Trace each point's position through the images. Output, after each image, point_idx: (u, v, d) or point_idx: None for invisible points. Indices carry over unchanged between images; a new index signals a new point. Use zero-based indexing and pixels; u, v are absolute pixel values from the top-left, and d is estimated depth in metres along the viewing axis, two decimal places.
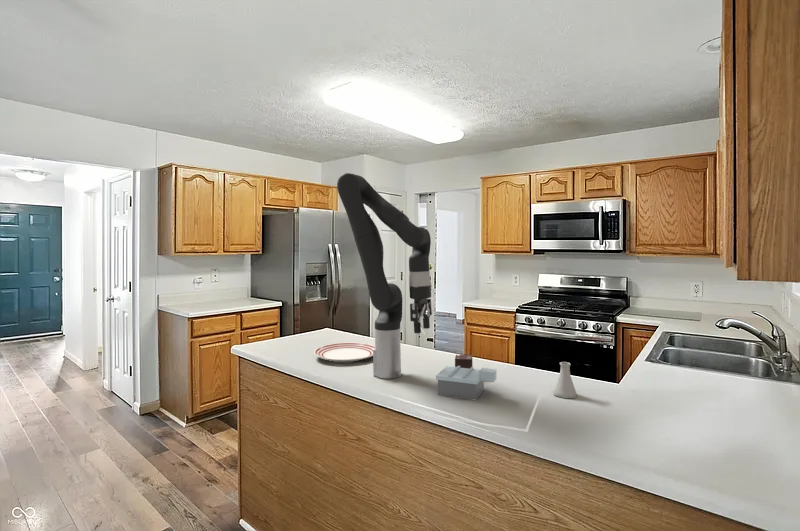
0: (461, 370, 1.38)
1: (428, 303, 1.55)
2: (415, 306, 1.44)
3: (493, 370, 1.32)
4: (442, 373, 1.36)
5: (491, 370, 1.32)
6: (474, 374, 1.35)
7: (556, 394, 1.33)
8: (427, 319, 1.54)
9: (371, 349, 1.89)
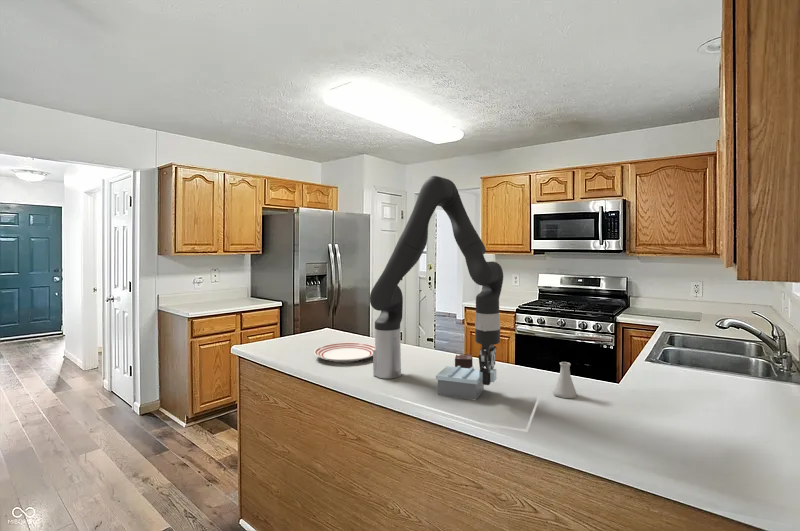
0: (461, 370, 1.38)
1: None
2: (485, 359, 1.26)
3: (493, 370, 1.32)
4: (442, 373, 1.36)
5: (491, 370, 1.32)
6: (474, 374, 1.35)
7: (556, 394, 1.33)
8: None
9: (371, 349, 1.89)
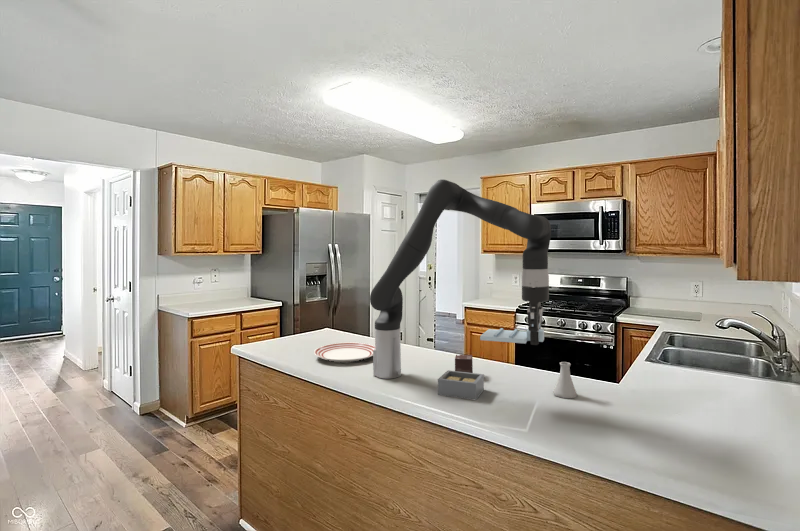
0: (505, 332, 1.32)
1: None
2: (535, 316, 1.20)
3: (541, 330, 1.26)
4: (486, 334, 1.30)
5: (539, 330, 1.26)
6: (520, 334, 1.28)
7: (556, 394, 1.33)
8: None
9: (371, 349, 1.89)
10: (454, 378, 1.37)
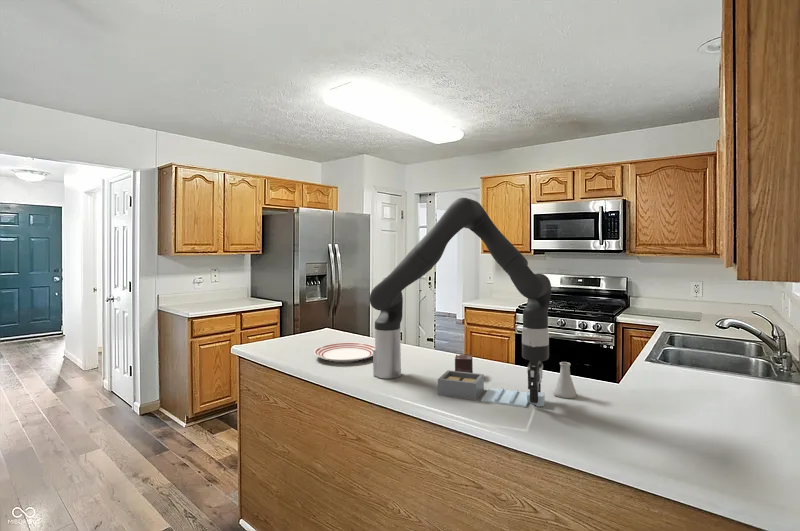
0: (506, 393, 1.33)
1: (540, 364, 1.31)
2: (535, 374, 1.20)
3: (541, 394, 1.27)
4: (487, 396, 1.31)
5: (539, 394, 1.27)
6: (521, 397, 1.29)
7: (556, 394, 1.33)
8: (538, 385, 1.29)
9: (371, 349, 1.89)
10: (454, 378, 1.37)
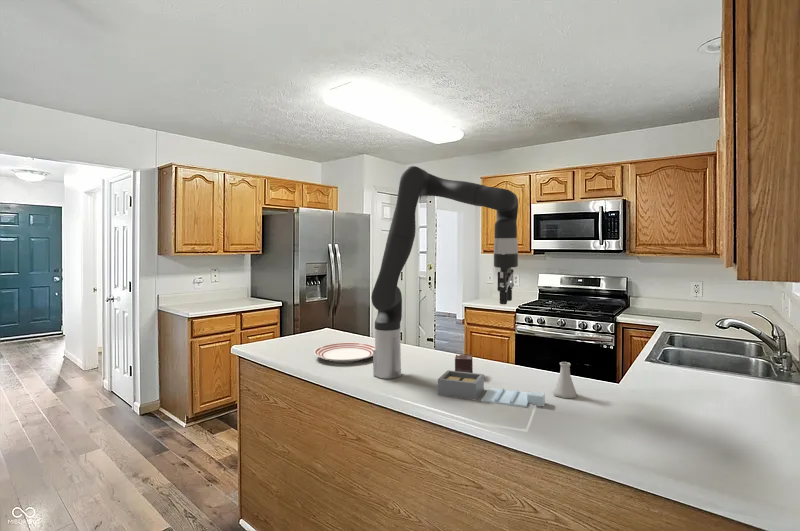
0: (506, 393, 1.33)
1: None
2: (504, 274, 1.33)
3: (542, 394, 1.27)
4: (487, 396, 1.31)
5: (539, 394, 1.27)
6: (521, 397, 1.29)
7: (556, 394, 1.33)
8: (510, 291, 1.43)
9: (371, 349, 1.89)
10: (454, 378, 1.37)
